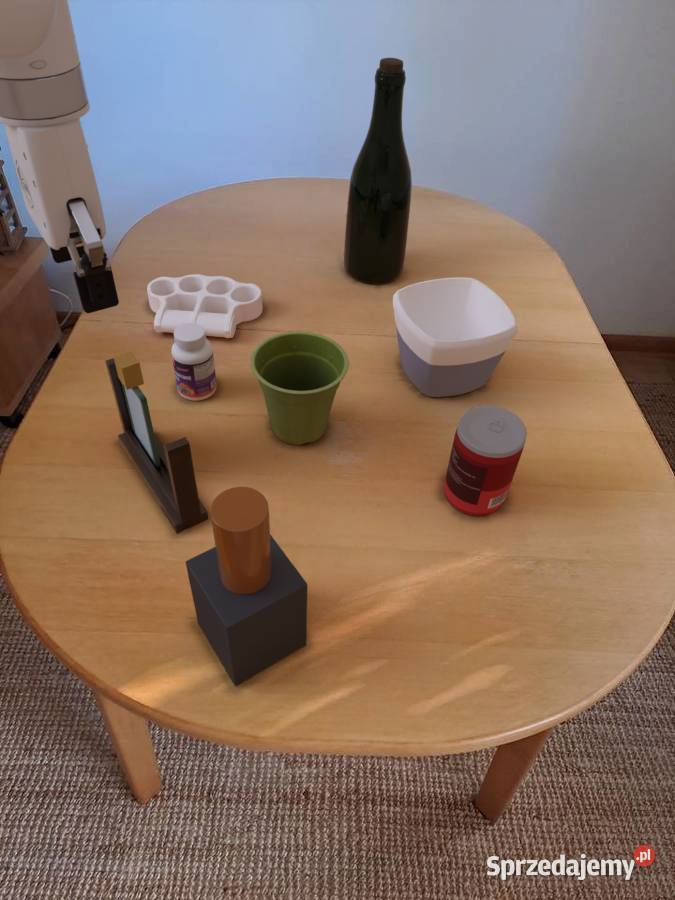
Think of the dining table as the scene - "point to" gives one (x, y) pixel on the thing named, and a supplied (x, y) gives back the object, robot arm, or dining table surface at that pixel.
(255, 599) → the stand
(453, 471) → the canned food
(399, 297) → the bowl
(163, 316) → the white compartment tray
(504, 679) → the dining table surface
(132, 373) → the pane
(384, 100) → the wine bottle
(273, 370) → the plant pot
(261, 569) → the orange-brown cylinder
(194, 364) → the pill bottle
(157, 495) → the window frame
